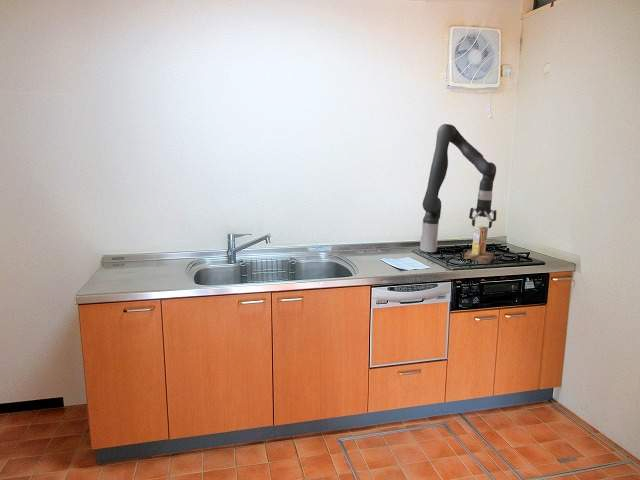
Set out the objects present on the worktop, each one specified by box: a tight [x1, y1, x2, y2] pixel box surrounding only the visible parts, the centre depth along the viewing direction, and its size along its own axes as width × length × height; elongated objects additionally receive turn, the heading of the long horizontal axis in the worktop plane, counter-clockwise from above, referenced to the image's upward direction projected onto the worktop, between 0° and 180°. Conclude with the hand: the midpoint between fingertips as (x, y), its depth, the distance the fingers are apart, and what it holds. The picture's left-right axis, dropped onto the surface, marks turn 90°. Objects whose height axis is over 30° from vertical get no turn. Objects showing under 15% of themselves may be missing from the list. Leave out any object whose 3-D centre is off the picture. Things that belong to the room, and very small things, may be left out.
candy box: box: [471, 225, 489, 255], centre depth 264 cm, size 9×4×15 cm, turn 135°
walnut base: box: [463, 249, 494, 264], centre depth 266 cm, size 14×14×3 cm
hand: (481, 227), depth 262 cm, fingers open, 8 cm apart
